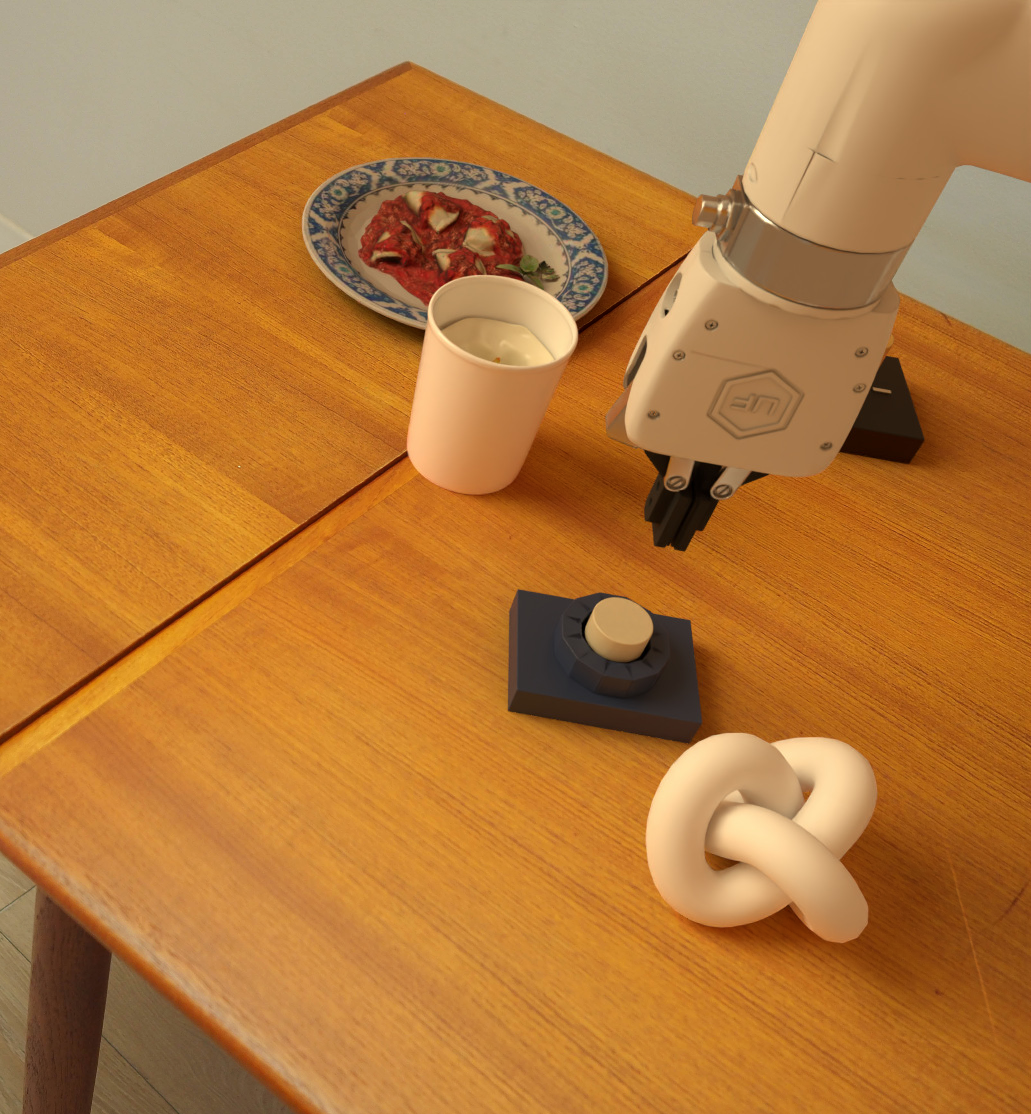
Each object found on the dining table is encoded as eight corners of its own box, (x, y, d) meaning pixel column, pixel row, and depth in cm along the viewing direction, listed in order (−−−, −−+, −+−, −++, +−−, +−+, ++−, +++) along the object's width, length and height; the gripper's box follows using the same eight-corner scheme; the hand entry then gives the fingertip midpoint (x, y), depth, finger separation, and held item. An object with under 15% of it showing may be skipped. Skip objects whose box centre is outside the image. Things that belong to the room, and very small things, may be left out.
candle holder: (465, 524, 85) (509, 388, 76) (366, 442, 90) (397, 304, 81) (558, 468, 90) (609, 334, 82) (460, 392, 95) (498, 257, 86)
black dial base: (884, 381, 102) (899, 355, 100) (909, 464, 95) (926, 438, 93) (738, 355, 102) (751, 329, 100) (753, 436, 95) (767, 409, 93)
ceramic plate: (237, 262, 103) (240, 230, 100) (400, 147, 118) (406, 117, 116) (512, 404, 95) (522, 374, 92) (648, 261, 110) (660, 232, 108)
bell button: (642, 621, 76) (651, 602, 75) (645, 667, 74) (655, 649, 73) (583, 610, 76) (592, 592, 75) (585, 656, 74) (594, 638, 73)
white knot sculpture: (642, 973, 65) (705, 889, 58) (602, 774, 73) (654, 680, 66) (852, 984, 66) (938, 903, 59) (790, 786, 74) (859, 695, 67)
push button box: (678, 641, 80) (701, 601, 78) (689, 744, 75) (714, 705, 72) (509, 611, 80) (524, 569, 78) (507, 711, 75) (524, 671, 72)
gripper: (646, 258, 52) (530, 556, 66) (1001, 322, 52) (813, 607, 66) (635, 166, 57) (530, 459, 71) (959, 224, 57) (793, 507, 71)
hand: (667, 530), depth 68 cm, fingers closed
